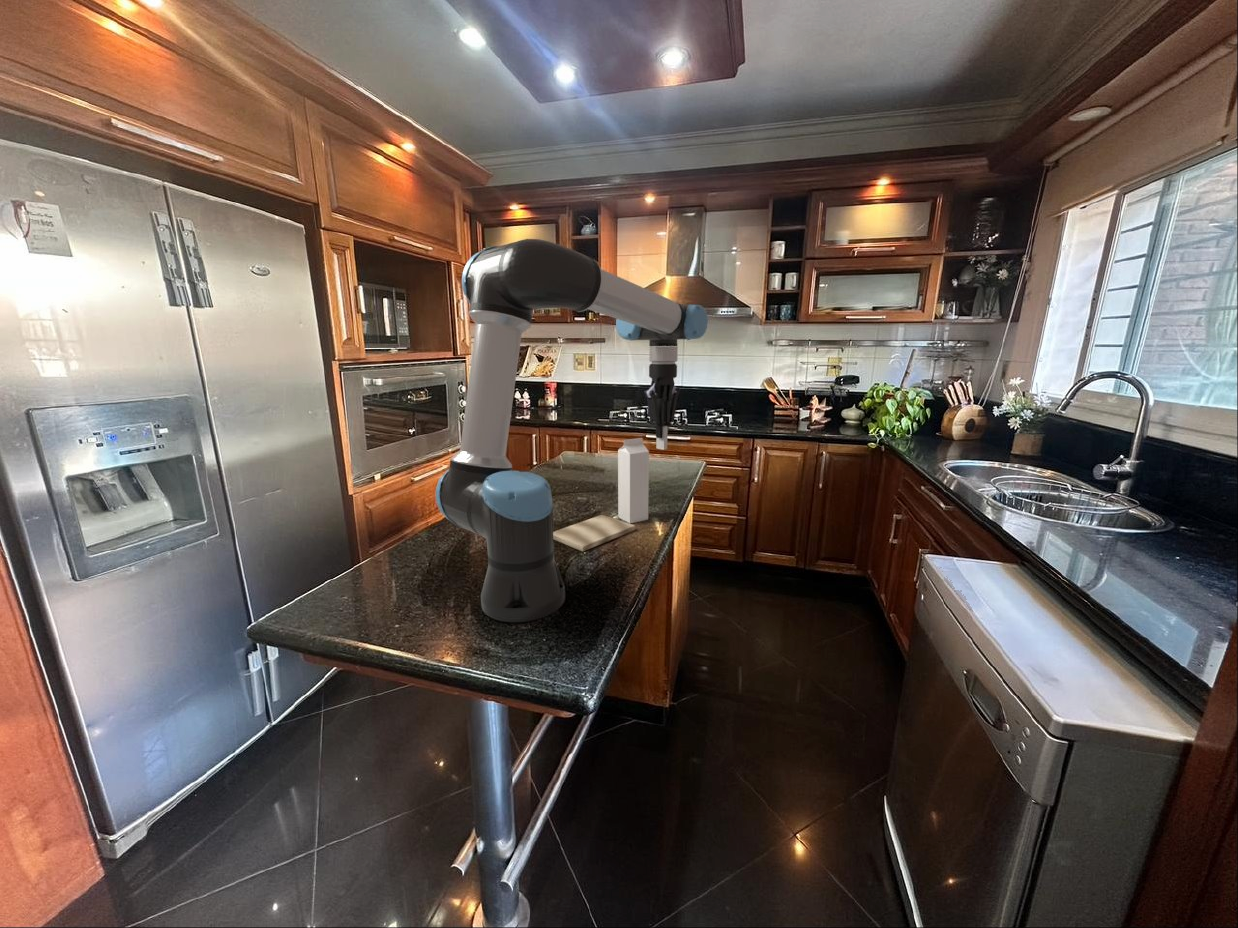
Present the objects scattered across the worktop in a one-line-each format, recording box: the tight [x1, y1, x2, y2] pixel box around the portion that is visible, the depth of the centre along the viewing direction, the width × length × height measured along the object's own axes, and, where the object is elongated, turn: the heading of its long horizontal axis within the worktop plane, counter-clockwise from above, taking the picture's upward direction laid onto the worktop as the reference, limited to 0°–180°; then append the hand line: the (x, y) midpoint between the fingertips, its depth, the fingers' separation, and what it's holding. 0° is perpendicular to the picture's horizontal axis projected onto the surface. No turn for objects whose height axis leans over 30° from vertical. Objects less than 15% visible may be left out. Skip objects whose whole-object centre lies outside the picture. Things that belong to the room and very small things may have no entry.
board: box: [553, 514, 636, 552], centre depth 119 cm, size 18×12×1 cm, turn 137°
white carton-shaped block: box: [617, 437, 650, 524], centre depth 127 cm, size 6×6×22 cm
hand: (661, 448), depth 134 cm, fingers closed
